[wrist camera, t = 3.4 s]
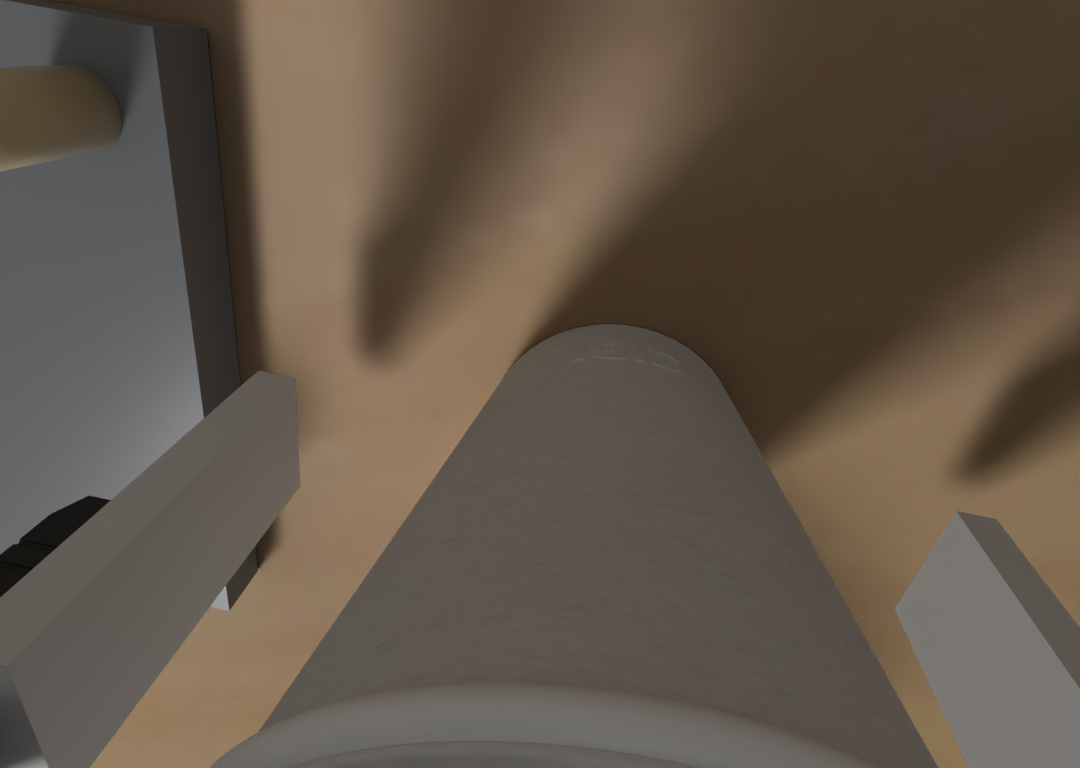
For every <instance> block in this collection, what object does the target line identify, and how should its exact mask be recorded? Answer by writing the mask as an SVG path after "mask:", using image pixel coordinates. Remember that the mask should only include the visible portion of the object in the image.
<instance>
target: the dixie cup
mask: <svg viewBox="0 0 1080 768" xmlns="http://www.w3.org/2000/svg"><path fill="white" fill-rule="evenodd" d="M209 768H938V766H937V765H936V763H935V761H934V759H933V758H932V756H931V754H930V752H929V750H928V749H927V747H926V745H925V743H924V742H923V740H922V738H921V736H920V734H919V733H918V731H917V729H916V727H915V726H914V724H913V722H912V720H911V719H910V717H909V715H908V713H907V711H906V710H905V708H904V706H903V704H902V703H901V701H900V699H899V697H898V695H897V694H896V692H895V690H894V688H893V687H892V685H891V683H890V681H889V679H888V678H887V676H886V674H885V672H884V671H883V669H882V667H881V665H880V663H879V662H878V660H877V658H876V656H875V655H874V653H873V651H872V649H871V648H870V646H869V644H868V642H867V640H866V639H865V637H864V635H863V633H862V632H861V630H860V628H859V626H858V624H857V623H856V621H855V619H854V617H853V616H852V614H851V612H850V610H849V608H848V607H847V605H846V603H845V601H844V600H843V598H842V596H841V594H840V592H839V591H838V589H837V587H836V585H835V584H834V582H833V580H832V578H831V577H830V575H829V573H828V571H827V569H826V568H825V566H824V564H823V562H822V561H821V559H820V557H819V555H818V553H817V552H816V550H815V548H814V546H813V545H812V543H811V541H810V539H809V537H808V536H807V534H806V532H805V530H804V529H803V527H802V525H801V523H800V521H799V520H798V518H797V516H796V514H795V513H794V511H793V509H792V507H791V506H790V504H789V502H788V500H787V498H786V497H785V495H784V493H783V491H782V490H781V488H780V486H779V484H778V482H777V481H776V479H775V477H774V475H773V474H772V472H771V470H770V468H769V466H768V465H767V463H766V461H765V459H764V458H763V456H762V454H761V452H760V450H759V449H758V447H757V445H756V443H755V442H754V440H753V438H752V436H751V435H750V433H749V431H748V429H747V427H746V426H745V424H744V422H743V420H742V419H741V417H740V415H739V413H738V411H737V410H736V408H735V406H734V404H733V403H732V401H731V399H730V397H729V395H728V394H727V392H726V390H725V388H724V387H723V385H722V383H721V381H720V380H719V378H718V377H717V375H716V374H715V373H714V371H713V370H712V369H711V368H710V367H709V366H708V365H707V363H706V362H705V361H704V360H702V359H701V358H700V357H699V356H698V355H697V354H696V353H694V352H693V351H692V350H690V349H689V348H687V347H686V346H684V345H683V344H681V343H679V342H678V341H676V340H674V339H672V338H670V337H668V336H665V335H663V334H660V333H658V332H655V331H652V330H648V329H644V328H640V327H635V326H629V325H619V324H600V325H590V326H584V327H579V328H574V329H571V330H567V331H564V332H561V333H559V334H556V335H554V336H552V337H550V338H548V339H546V340H544V341H542V342H540V343H539V344H537V345H536V346H534V347H533V348H531V349H530V350H529V351H527V352H526V353H525V354H524V355H523V356H521V357H520V358H519V359H518V360H517V361H516V362H515V364H514V365H513V366H512V367H511V368H510V370H509V371H508V372H507V374H506V375H505V377H504V378H503V379H502V381H501V382H500V384H499V385H498V387H497V388H496V390H495V391H494V393H493V394H492V395H491V397H490V398H489V400H488V401H487V403H486V404H485V406H484V407H483V408H482V410H481V411H480V413H479V414H478V416H477V417H476V419H475V420H474V421H473V423H472V424H471V426H470V427H469V429H468V430H467V432H466V433H465V434H464V436H463V437H462V439H461V440H460V442H459V443H458V445H457V446H456V447H455V449H454V450H453V452H452V453H451V455H450V456H449V458H448V459H447V460H446V462H445V463H444V465H443V466H442V468H441V469H440V471H439V472H438V473H437V475H436V476H435V478H434V479H433V481H432V482H431V484H430V485H429V486H428V488H427V489H426V491H425V492H424V494H423V495H422V496H421V498H420V499H419V501H418V502H417V504H416V505H415V507H414V508H413V509H412V511H411V512H410V514H409V515H408V517H407V518H406V520H405V521H404V522H403V524H402V525H401V527H400V528H399V530H398V531H397V533H396V534H395V535H394V537H393V538H392V540H391V541H390V543H389V544H388V546H387V547H386V548H385V550H384V551H383V553H382V554H381V556H380V557H379V559H378V560H377V561H376V563H375V564H374V566H373V567H372V569H371V570H370V572H369V573H368V574H367V576H366V577H365V579H364V580H363V582H362V583H361V585H360V586H359V587H358V589H357V590H356V592H355V593H354V595H353V596H352V598H351V599H350V600H349V602H348V603H347V605H346V606H345V608H344V609H343V611H342V612H341V613H340V615H339V616H338V618H337V619H336V621H335V622H334V624H333V625H332V626H331V628H330V629H329V631H328V632H327V634H326V635H325V636H324V638H323V639H322V641H321V642H320V644H319V645H318V647H317V648H316V649H315V651H314V652H313V654H312V655H311V657H310V658H309V660H308V661H307V662H306V664H305V665H304V667H303V668H302V670H301V671H300V673H299V674H298V675H297V677H296V678H295V680H294V681H293V683H292V684H291V686H290V687H289V688H288V690H287V691H286V693H285V694H284V696H283V697H282V699H281V700H280V701H279V703H278V704H277V706H276V707H275V709H274V710H273V712H272V713H271V714H270V716H269V717H268V719H267V720H266V722H265V723H264V725H263V726H262V727H261V729H260V730H259V732H258V733H256V734H254V735H253V736H251V737H249V738H247V739H246V740H244V741H243V742H241V743H240V744H238V745H237V746H235V747H234V748H232V749H231V750H230V751H228V752H227V753H226V754H224V755H223V756H222V757H221V758H219V759H218V760H217V761H216V762H215V763H214V764H213V765H212V766H210V767H209Z"/></svg>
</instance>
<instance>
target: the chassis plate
mask: <svg viewBox="0 0 1080 768" xmlns="http://www.w3.org/2000/svg"><path fill="white" fill-rule="evenodd" d="M239 387H240V377H239V366H238V356H237V345H236V335H235V324H234V313H233V303H232V292H231V282H230V271H229V260H228V250H227V239H226V229H225V218H224V207H223V197H222V186H221V176H220V165H219V154H218V144H217V133H216V123H215V112H214V101H213V91H212V80H211V70H210V59H209V48H208V38H207V29H205V28H199V27H194V26H188V25H183V24H177V23H172V22H166V21H161V20H155V19H150V18H144V17H139V16H133V15H127V14H122V13H116V12H111V11H105V10H100V9H94V8H89V7H83V6H78V5H72V4H67V3H61V2H56V1H50V0H0V554H2V553H3V552H4V551H5V550H7V549H8V548H9V547H10V546H12V545H13V544H18V543H19V541H20V538H21V537H23V536H24V535H25V534H26V533H28V532H29V531H30V530H31V529H33V528H34V527H35V526H36V525H37V524H39V523H40V522H41V521H42V520H44V519H45V518H46V517H47V516H49V515H50V514H51V513H54V512H56V511H58V510H60V509H62V508H64V507H66V506H68V505H70V504H72V503H74V502H76V501H78V500H80V499H83V498H85V497H87V496H94V497H98V498H103V499H108V500H112V499H113V498H114V497H115V496H116V495H117V494H119V493H120V492H121V491H122V490H123V489H124V488H125V487H127V486H128V485H129V484H130V483H131V482H132V481H133V480H135V479H136V478H137V477H138V476H139V475H140V474H141V473H143V472H144V471H145V470H146V469H147V468H148V467H149V466H150V465H152V464H153V463H154V462H155V461H156V460H157V459H158V458H160V457H161V456H162V455H163V454H164V453H165V452H166V451H168V450H169V449H170V448H171V447H172V446H173V445H174V444H176V443H177V442H178V441H179V440H180V439H181V438H182V437H183V436H185V435H186V434H187V433H188V432H189V431H190V430H191V429H193V428H194V427H195V426H196V425H197V424H198V423H199V422H201V421H202V420H203V419H204V418H205V417H206V416H207V415H208V414H210V413H211V412H212V411H213V410H214V409H215V408H216V407H218V406H219V405H220V404H221V403H222V402H223V401H224V400H226V399H227V398H228V397H229V396H230V395H231V394H232V393H234V392H235V391H236V390H237V389H238V388H239ZM257 571H258V568H257V557H256V547H254V548H253V550H252V551H251V552H250V554H249V555H248V556H247V558H246V559H245V560H244V562H243V563H242V564H241V566H240V567H239V568H238V570H237V571H236V572H235V574H234V575H233V576H232V578H231V579H230V580H229V582H228V583H227V584H226V586H225V587H224V588H223V590H222V591H221V592H220V594H219V595H218V596H217V598H216V599H215V600H214V602H213V603H212V604H211V606H210V607H213V608H218V609H222V610H227V611H230V609H231V608H232V606H233V605H234V604H235V602H236V601H237V599H238V598H239V596H240V595H241V594H242V592H243V591H244V589H245V588H246V587H247V585H248V584H249V582H250V581H251V579H252V578H253V577H254V575H255V574H256V572H257Z"/></svg>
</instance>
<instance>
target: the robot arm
mask: <svg viewBox="0 0 1080 768" xmlns="http://www.w3.org/2000/svg"><path fill="white" fill-rule="evenodd" d="M299 487H300V469H299V446H298V423H297V400H296V378H293V377H288V376H283V375H278V374H273V373H268V372H263V371H257V372H256V373H255V374H254V375H253V376H252V377H251V378H249V379H248V380H247V381H246V382H245V383H244V384H243V385H241V386H240V387H239V388H238V389H237V390H236V391H235V392H234V393H232V394H231V395H230V396H229V397H228V398H227V399H226V400H224V401H223V402H222V403H221V404H220V405H219V406H218V407H216V408H215V409H214V410H213V411H212V412H211V413H210V414H208V415H207V416H206V417H205V418H204V419H203V420H202V421H201V422H199V423H198V424H197V425H196V426H195V427H194V428H193V429H191V430H190V431H189V432H188V433H187V434H186V435H185V436H183V437H182V438H181V439H180V440H179V441H178V442H177V443H176V444H174V445H173V446H172V447H171V448H170V449H169V450H168V451H166V452H165V453H164V454H163V455H162V456H161V457H160V458H158V459H157V460H156V461H155V462H154V463H153V464H152V465H150V466H149V467H148V468H147V469H146V470H145V471H144V472H143V473H141V474H140V475H139V476H138V477H137V478H136V479H135V480H133V481H132V482H131V483H130V484H129V485H128V486H127V487H125V488H124V489H123V490H122V491H121V492H120V493H119V494H117V495H116V496H115V497H114V498H113V499H112V500H108V499H103V498H98V497H94V496H87V497H85V498H83V499H80V500H78V501H76V502H74V503H72V504H70V505H68V506H66V507H64V508H62V509H60V510H58V511H56V512H54V513H51V514H50V515H49V516H47V517H46V518H45V519H44V520H42V521H41V522H40V523H39V524H37V525H36V526H35V527H34V528H33V529H31V530H30V531H29V532H28V533H26V534H25V535H24V536H23V537H21V538H20V541H19V543H18V544H13V545H12V546H10V547H9V548H8V549H7V550H5V551H4V552H3V553H2V554H0V768H90V766H91V765H92V764H93V762H94V761H95V760H96V758H97V757H98V756H99V754H100V753H101V752H102V750H103V749H104V748H105V746H106V745H107V744H108V742H109V741H110V740H111V738H112V737H113V736H114V734H115V733H116V732H117V730H118V729H119V728H120V726H121V725H122V724H123V722H124V721H125V720H126V718H127V717H128V716H129V714H130V713H131V712H132V710H133V709H134V708H135V706H136V705H137V704H138V702H139V701H140V700H141V698H142V697H143V696H144V694H145V693H146V691H147V690H148V689H149V687H150V686H151V685H152V683H153V682H154V681H155V679H156V678H157V677H158V675H159V674H160V673H161V671H162V670H163V669H164V667H165V666H166V665H167V663H168V662H169V661H170V659H171V658H172V657H173V655H174V654H175V653H176V651H177V650H178V649H179V647H180V646H181V645H182V643H183V642H184V641H185V639H186V638H187V637H188V635H189V634H190V633H191V631H192V630H193V629H194V627H195V626H196V625H197V623H198V622H199V621H200V619H201V618H202V617H203V615H204V614H205V613H206V611H207V610H208V609H209V607H210V606H211V604H212V603H213V602H214V600H215V599H216V598H217V596H218V595H219V594H220V592H221V591H222V590H223V588H224V587H225V586H226V584H227V583H228V582H229V580H230V579H231V578H232V576H233V575H234V574H235V572H236V571H237V570H238V568H239V567H240V566H241V564H242V563H243V562H244V560H245V559H246V558H247V556H248V555H249V554H250V552H251V551H252V550H253V548H254V547H255V546H256V544H257V543H258V542H259V540H260V539H261V538H262V536H263V535H264V534H265V532H266V531H267V530H268V528H269V527H270V526H271V524H272V523H273V522H274V520H275V519H276V517H277V516H278V515H279V513H280V512H281V511H282V509H283V508H284V507H285V505H286V504H287V503H288V501H289V500H290V499H291V497H292V496H293V495H294V493H295V492H296V491H297V489H298V488H299ZM895 611H896V613H897V615H898V618H899V620H900V622H901V624H902V626H903V628H904V630H905V633H906V635H907V637H908V639H909V641H910V643H911V646H912V648H913V650H914V652H915V654H916V656H917V658H918V661H919V663H920V665H921V667H922V669H923V671H924V673H925V676H926V678H927V680H928V682H929V684H930V686H931V688H932V691H933V693H934V695H935V697H936V699H937V701H938V704H939V706H940V708H941V710H942V712H943V714H944V716H945V719H946V721H947V723H948V725H949V727H950V729H951V731H952V734H953V736H954V738H955V740H956V742H957V744H958V747H959V749H960V751H961V753H962V755H963V757H964V759H965V762H966V764H967V766H968V768H1080V627H1079V626H1078V625H1077V623H1076V622H1075V621H1074V620H1073V618H1072V617H1071V616H1070V614H1069V613H1068V612H1067V610H1066V609H1065V608H1064V607H1063V605H1062V604H1061V603H1060V601H1059V600H1058V599H1057V597H1056V596H1055V595H1054V594H1053V592H1052V591H1051V590H1050V588H1049V587H1048V586H1047V584H1046V583H1045V582H1044V580H1043V579H1042V578H1041V577H1040V575H1039V574H1038V573H1037V571H1036V570H1035V569H1034V567H1033V566H1032V565H1031V564H1030V562H1029V561H1028V560H1027V558H1026V557H1025V556H1024V554H1023V553H1022V552H1021V551H1020V549H1019V548H1018V547H1017V545H1016V544H1015V543H1014V541H1013V540H1012V539H1011V537H1010V536H1009V535H1008V534H1007V532H1006V531H1005V530H1004V528H1003V527H1002V526H1001V524H1000V523H999V522H998V521H997V519H993V518H988V517H983V516H978V515H973V514H968V513H963V512H958V511H956V513H955V514H954V516H953V517H952V519H951V520H950V522H949V524H948V525H947V527H946V528H945V530H944V532H943V533H942V535H941V536H940V538H939V540H938V541H937V543H936V544H935V546H934V547H933V549H932V551H931V552H930V554H929V555H928V557H927V559H926V560H925V562H924V563H923V565H922V567H921V568H920V570H919V571H918V573H917V575H916V576H915V578H914V579H913V581H912V582H911V584H910V586H909V587H908V589H907V590H906V592H905V594H904V595H903V597H902V598H901V600H900V602H899V603H898V605H897V606H896V608H895Z"/></svg>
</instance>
